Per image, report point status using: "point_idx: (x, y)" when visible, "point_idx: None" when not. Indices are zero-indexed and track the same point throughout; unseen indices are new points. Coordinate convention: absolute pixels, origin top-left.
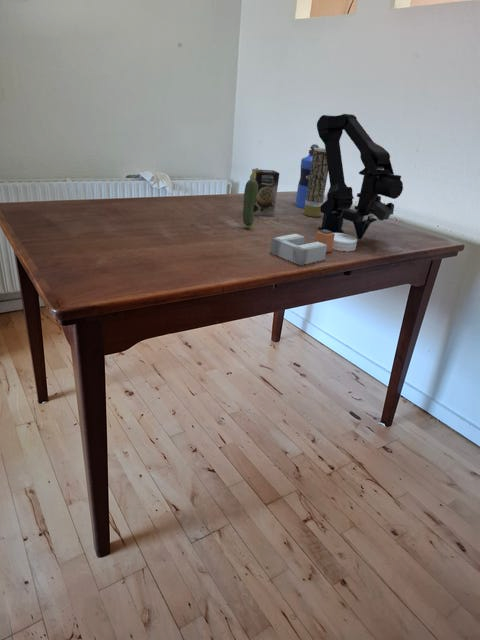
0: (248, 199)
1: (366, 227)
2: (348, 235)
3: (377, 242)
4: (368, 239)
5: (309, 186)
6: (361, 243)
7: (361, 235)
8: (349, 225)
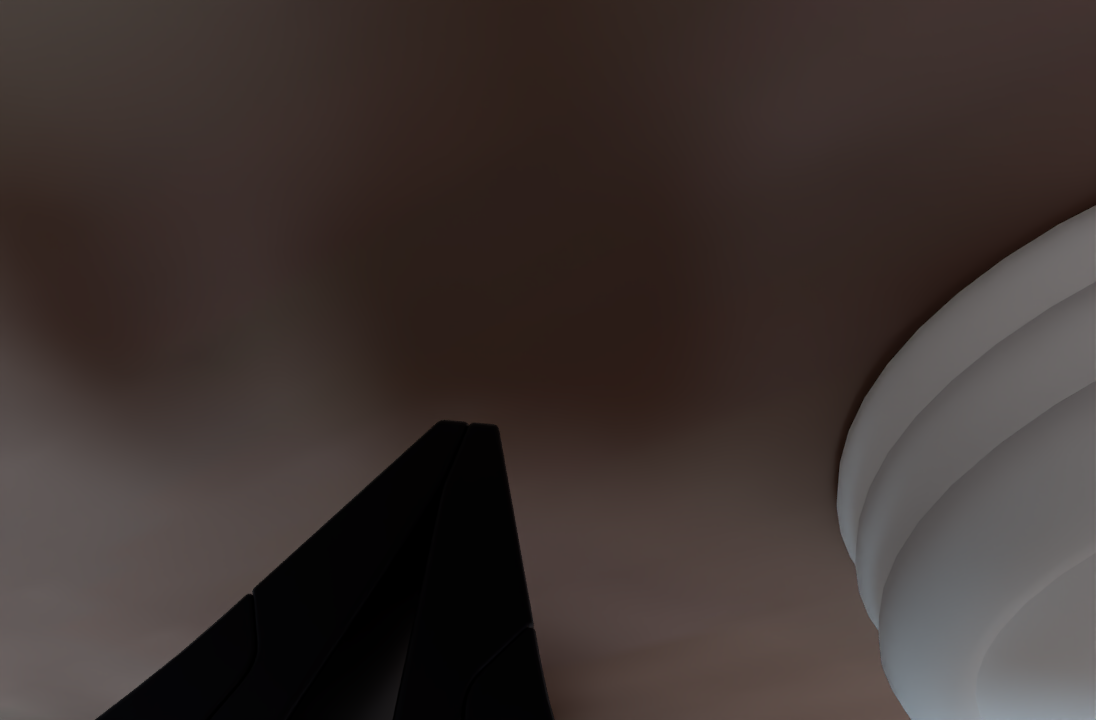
0: None
1: (270, 689)
2: (996, 635)
3: (11, 169)
4: (116, 376)
5: None
6: (491, 326)
7: (486, 486)
8: (33, 701)
